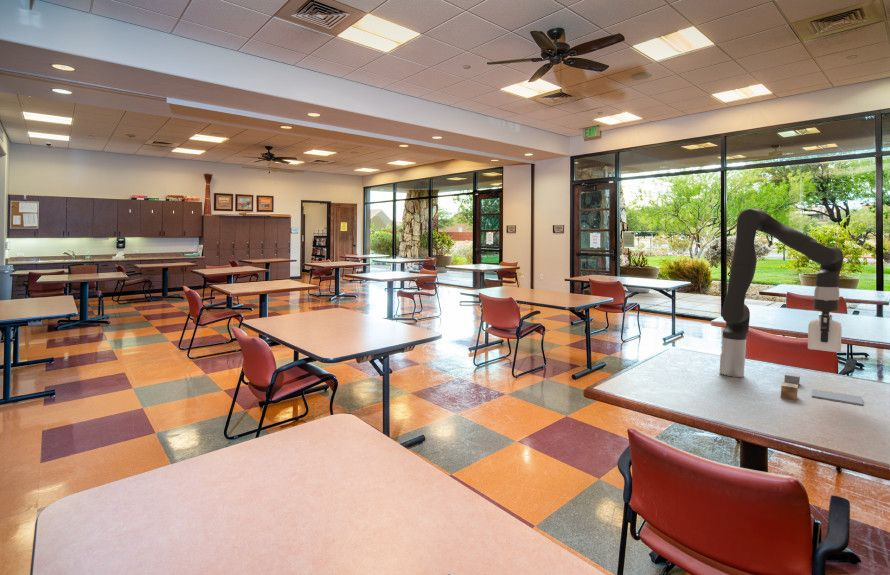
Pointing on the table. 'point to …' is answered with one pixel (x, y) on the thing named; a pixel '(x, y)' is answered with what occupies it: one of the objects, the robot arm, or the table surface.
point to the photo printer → (833, 336)
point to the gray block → (792, 378)
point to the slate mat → (837, 397)
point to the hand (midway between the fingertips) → (824, 340)
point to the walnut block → (789, 391)
